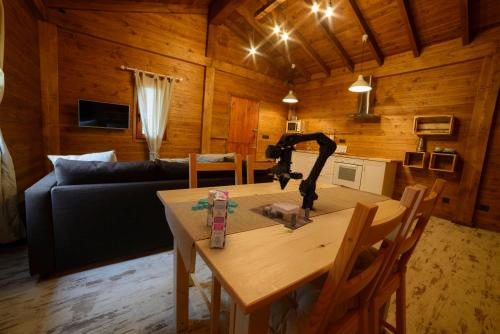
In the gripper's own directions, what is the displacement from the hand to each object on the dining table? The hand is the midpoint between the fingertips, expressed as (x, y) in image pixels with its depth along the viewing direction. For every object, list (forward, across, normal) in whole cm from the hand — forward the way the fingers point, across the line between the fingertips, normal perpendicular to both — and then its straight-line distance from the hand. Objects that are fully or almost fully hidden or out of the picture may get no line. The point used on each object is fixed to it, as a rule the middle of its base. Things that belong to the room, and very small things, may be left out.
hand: (282, 189), depth 112 cm
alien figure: (+12, -23, -23) cm, 35 cm away
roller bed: (+11, +4, -7) cm, 14 cm away
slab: (+7, +8, -7) cm, 13 cm away
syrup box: (+11, -4, -38) cm, 40 cm away
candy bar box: (+11, +7, -45) cm, 47 cm away
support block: (+10, +11, -7) cm, 17 cm away
